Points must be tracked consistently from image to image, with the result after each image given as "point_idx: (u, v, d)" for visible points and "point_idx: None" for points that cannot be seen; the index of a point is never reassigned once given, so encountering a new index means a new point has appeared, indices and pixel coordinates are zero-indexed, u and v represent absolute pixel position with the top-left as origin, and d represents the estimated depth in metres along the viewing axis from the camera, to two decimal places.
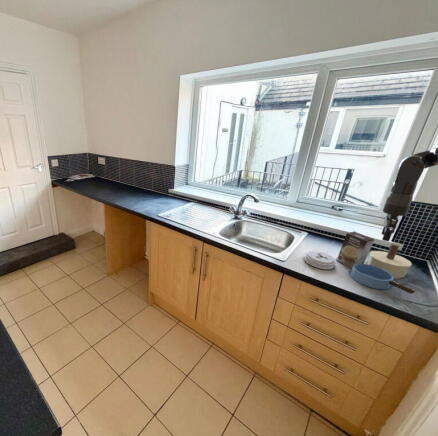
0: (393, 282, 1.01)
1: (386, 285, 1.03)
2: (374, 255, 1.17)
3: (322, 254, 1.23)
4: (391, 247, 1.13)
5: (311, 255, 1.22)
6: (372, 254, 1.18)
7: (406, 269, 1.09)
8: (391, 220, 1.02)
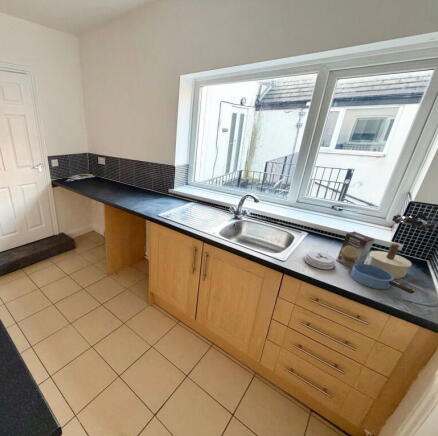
0: (393, 282, 1.01)
1: (386, 285, 1.03)
2: (374, 255, 1.17)
3: (322, 254, 1.23)
4: (391, 247, 1.13)
5: (311, 255, 1.22)
6: (372, 254, 1.18)
7: (406, 269, 1.09)
8: None
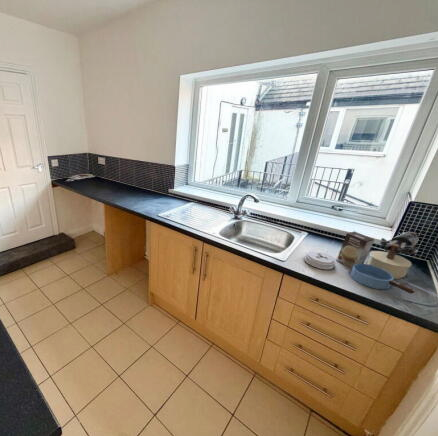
0: (393, 282, 1.01)
1: (386, 285, 1.03)
2: (374, 255, 1.17)
3: (322, 254, 1.23)
4: (391, 247, 1.13)
5: (311, 255, 1.22)
6: (372, 254, 1.18)
7: (406, 269, 1.09)
8: (380, 241, 1.21)
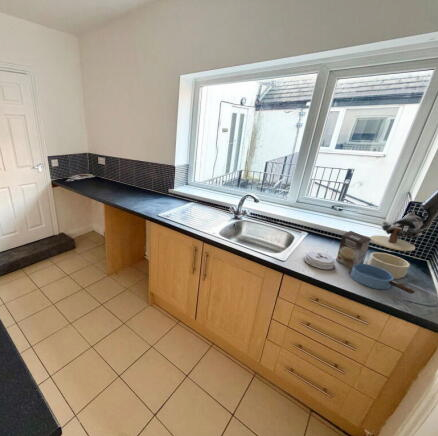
0: (393, 282, 1.01)
1: (386, 285, 1.03)
2: (375, 239, 1.11)
3: (322, 254, 1.23)
4: (393, 230, 1.07)
5: (311, 255, 1.22)
6: (373, 238, 1.12)
7: (406, 269, 1.09)
8: None
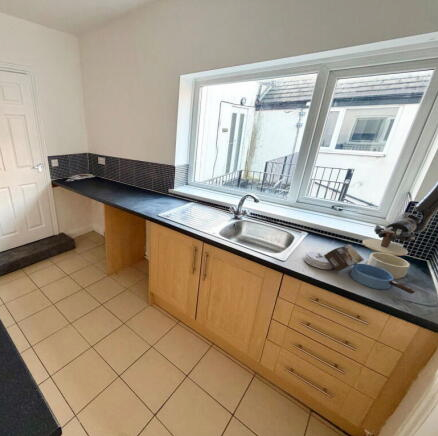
0: (393, 282, 1.01)
1: (386, 285, 1.03)
2: (367, 243, 1.08)
3: (322, 254, 1.23)
4: (386, 234, 1.03)
5: (311, 255, 1.22)
6: (365, 242, 1.09)
7: (406, 269, 1.09)
8: (374, 229, 1.12)
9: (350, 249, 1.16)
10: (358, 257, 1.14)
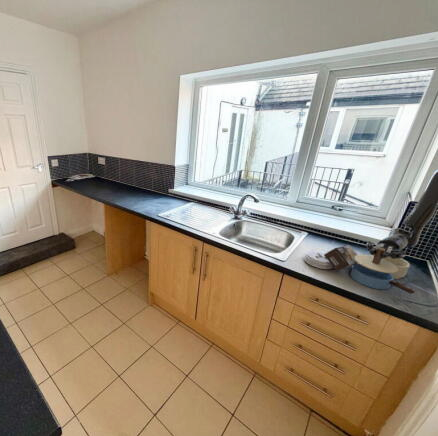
0: (393, 282, 1.01)
1: (386, 285, 1.03)
2: (359, 259, 1.09)
3: (322, 254, 1.23)
4: (377, 251, 1.05)
5: (311, 255, 1.22)
6: (357, 258, 1.10)
7: (406, 269, 1.09)
8: (366, 245, 1.14)
9: (349, 249, 1.17)
10: None
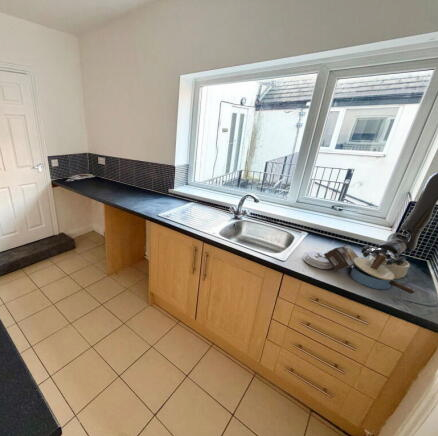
0: (393, 282, 1.01)
1: (386, 285, 1.03)
2: (358, 262, 1.10)
3: (321, 254, 1.23)
4: (378, 257, 1.05)
5: (310, 255, 1.22)
6: (356, 261, 1.10)
7: (406, 269, 1.09)
8: None
9: (349, 249, 1.17)
10: None
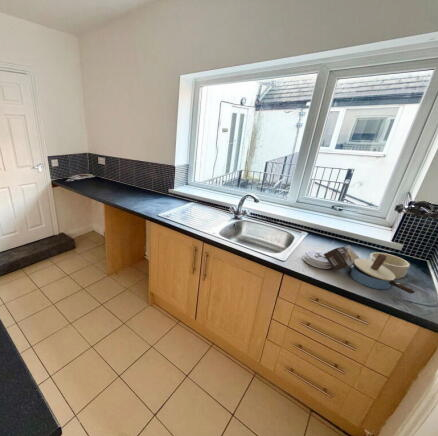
0: (393, 282, 1.01)
1: (386, 285, 1.03)
2: (358, 263, 1.09)
3: (321, 254, 1.23)
4: (378, 257, 1.05)
5: (310, 255, 1.22)
6: (356, 262, 1.10)
7: (406, 269, 1.09)
8: None
9: (349, 249, 1.17)
10: (357, 258, 1.15)
